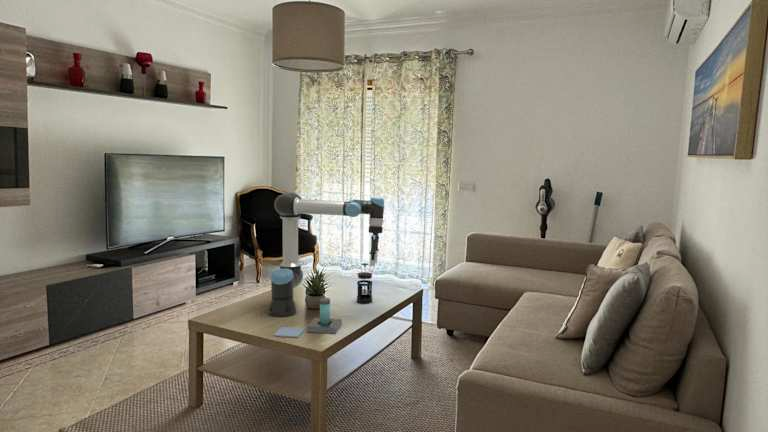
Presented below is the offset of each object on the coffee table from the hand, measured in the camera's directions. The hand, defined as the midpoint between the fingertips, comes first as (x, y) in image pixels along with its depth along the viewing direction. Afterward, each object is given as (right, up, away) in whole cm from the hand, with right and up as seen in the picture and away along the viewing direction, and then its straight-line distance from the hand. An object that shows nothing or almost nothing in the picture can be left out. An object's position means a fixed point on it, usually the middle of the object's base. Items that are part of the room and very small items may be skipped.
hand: (373, 264), depth 292 cm
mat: (-40, -30, -33) cm, 60 cm away
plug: (-24, -30, -26) cm, 46 cm away
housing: (-24, -30, -26) cm, 46 cm away
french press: (-6, -25, +23) cm, 34 cm away
